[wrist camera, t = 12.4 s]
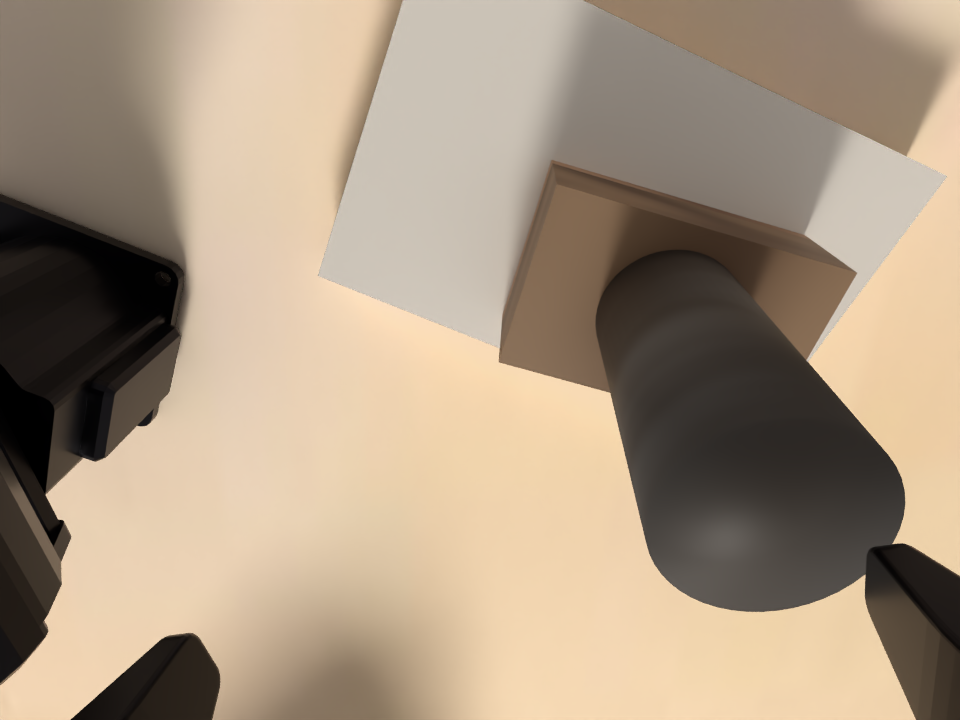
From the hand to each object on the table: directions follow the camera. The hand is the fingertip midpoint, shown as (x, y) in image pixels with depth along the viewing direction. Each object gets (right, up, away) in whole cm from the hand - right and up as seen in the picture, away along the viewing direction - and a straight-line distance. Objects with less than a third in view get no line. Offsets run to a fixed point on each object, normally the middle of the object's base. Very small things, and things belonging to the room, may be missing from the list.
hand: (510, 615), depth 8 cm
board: (+3, +8, +10) cm, 13 cm away
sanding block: (+4, +6, +9) cm, 12 cm away
